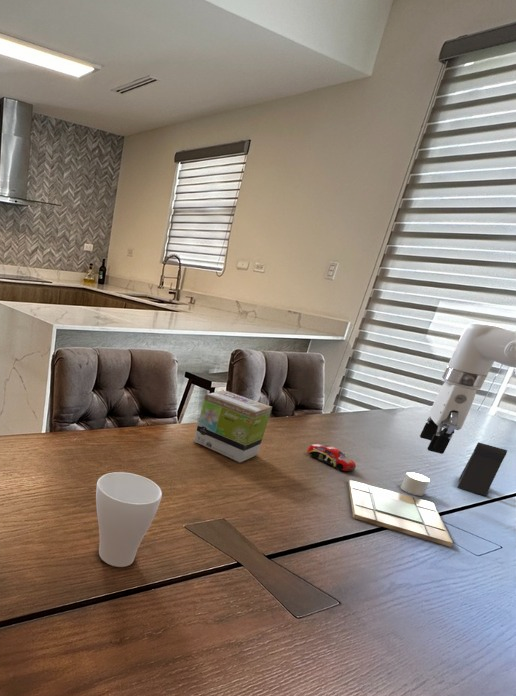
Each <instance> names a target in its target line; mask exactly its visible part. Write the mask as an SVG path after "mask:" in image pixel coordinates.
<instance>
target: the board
mask: <svg viewBox="0 0 516 696" xmlns="http://www.w3.org/2000/svg"><path fill="white" fill-rule="evenodd" d="M347 484H348V490H349V497H350V504H351V511H352V518H353V519H356V520H359V521H363V522H366V523H369V524H372V525H376V526H379V527H381V528H385V529H389V530H392V531H395V532H400V533H403V534H406V535H409V536H412V537H416V538H418V539H419V538H420V539H423V540H425V541H429V542H432V543H436V544H439V545H442V546H446V547H450V548H452V547H453V545H454V542H453V539H452V538H451V536H450V534H449V532H448V530H447V527H446V526H445V524H444V522H443V520H442V517H441V516H440V514H439V512H438V509H437V508H436V506H435V503H434V502H432V501H429V500H425V499H421V498H417V497H414V496H411V495H407V494H403V493H399V492H395V491H393V490H389V489H386V488H385V489H384V488H381V487H378V486H373V485H370V484H366V483H363V482H359V481H356V480H352V479H349V481H348V483H347Z"/></svg>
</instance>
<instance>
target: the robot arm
mask: <svg viewBox="0 0 516 696" xmlns="http://www.w3.org/2000/svg"><path fill="white" fill-rule="evenodd" d="M494 363H498V364H501V365H502V366H503V365H504V366H506V367H509V368H513V369H516V330H512V329H506V328H505V327H503V326H500V325H496V324H489V323H484V322H471V323H468V324H467V325H466V326H465V327H464V328H463V331H462V333H461V335H460V338H459V340H458V342H457V344H456V346H455V349H454V350H453V353H452V355H451V357H450V360H449V362H448V364H447V365H446V368H445V370H444V372H443V374H442V377H441V379H440V380H441V382H443V383H442V386H441V387H440V390H439V392H438V393H437V395H436V397H435V398H434V399H435V400H434V402H433V403H432V405H431V408H430V410H429V414H428V415H429V417H428V418H427V420H426V422H425V423H424V426H423V428H422V430H421V433H420V434H419V438H420V439H424V440H427V441H430V442H429V444H428V446H427V451H428V452H433V453H436V454H441V455H443V454H444V453H445V452H446V449H447V447H448V445H449V444H450V441H451V440H452V438H453V435H454V434H455V430H456V431H459V430H461V429H462V428H463V426H464V424H465V421H466V419H467V416H468V414H469V412H470V410H471V408H472V405H473V403H474V401H475V397H476V394H477V390H481V388H482V387H483V384H484V383H485V381H486V379H487V377H488V375H489V373H490V371H491V369H492V367H493V365H494Z"/></svg>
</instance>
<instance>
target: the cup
mask: <svg viewBox="0 0 516 696" xmlns="http://www.w3.org/2000/svg"><path fill="white" fill-rule="evenodd" d="M162 497H163V491H162V488H161V487H160V486H159V485H158V484H157V483H156V482H154V481H153V480H151V479H149V478H147V477H146V476H143V475H139V474H137V473H131V472H126V471H125V472H123V471H115V472H109V473H105V474H103V475H101V476H100V477H99V478H98V479H97V482H96V489H95V504H96V516H97V525H98V536H99V545H98V556H99V557H100V559H101V560H102V561H103V562H104V563H106V564H107V565H110V566H112V567H117V568H124V567H125V568H126V567H129V566H131V565H132V564H134V563H133V562H134V561H135V558H136V555H137V553H138V549H139V548H140V545H141V543H142V541H143V539H144V537H145V535H146V534H147V532H148V531H149V529H150V527H151V525H152V523H153V521H154V519H155V517H156V514H157V512H158V510H159V507H160V504H161V500H162Z"/></svg>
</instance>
